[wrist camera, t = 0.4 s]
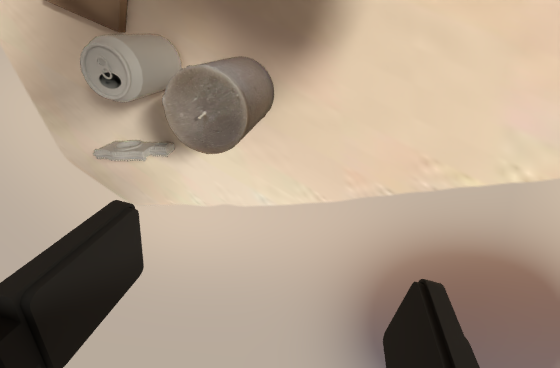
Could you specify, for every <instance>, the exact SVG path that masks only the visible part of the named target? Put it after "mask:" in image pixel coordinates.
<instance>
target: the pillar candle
mask: <svg viewBox="0 0 560 368" xmlns="http://www.w3.org/2000/svg"><path fill="white" fill-rule="evenodd" d="M273 99H274V87H273V83H272V80H271V77H270V75H269V74H268V72H267V71H266V70H265V68H264V67H263V66H262V65H261V64H259V63H258V62H256V61H255V60H253V59H250V58H246V57H234V58H228V59H223V60H218V61H214V62H209V63H204V64H199V65H194V66H187V68H184V69H180V70H179V71H178V72H177V73H176V74H175V75H174V76H172V77H171V79H170V81H169V83H168V85H167V86H166V90H165V94H164V95H163V98H162V103H163V106H164V111H165V115H166V118H167V121H168V123H169V126H170V128H171V129H172V131H173V132H174V134H175V135H176V136H177V138H178V139H179V140H180V141H181V142H183V143H184V144H185V145H187V146H188V147H190V148H192V149H194V150H196V151H199V152H201V153H206V154H217V153H222V152H225V151H228V150H230V149H231V148H233V147H234V146H235V145H236V144H237V143H239V142H240V140H241V139H242V138H244V136H245V135H246V134H247V133H248V132H249V131H250V130H251V129H252V128H253V127H254V126H255V125H256V124H257V123H258V122H259V121H260V120H261V119H262V118H263V117H265V115H266V113H267V112H268V111H269V110H270V109H271V106H272V103H273Z"/></svg>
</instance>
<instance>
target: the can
mask: <svg viewBox="0 0 560 368" xmlns="http://www.w3.org/2000/svg"><path fill="white" fill-rule="evenodd" d="M80 65H81V70H82V73H83V76H84V78H85V80H86V82H87V83H88V84H89V86H90V87H91V88H92V89H93V90H94V91H95V92H96V93H97V94H98V95H100V96H102V97H104V98H106V99H111V100H113V101H117V102H129V101H133V100H136V99H139V98H142V97H145V96H148V95H151V94H154V93H157V92H160V91H163V90H166V86H167V85H168V83H169V81H170V79H171V77H172V76H174V75H175V74H176V73H177V72H178V71H179V70H180V69H182V67H181V60H180V57H179V54H178V52H177V50H176V49H175V47H174V46H173V45H172V44H171V43H170V42H169V41H168V40H167V39H165V38H164V37H162V36H160V35H155V34H134V35H103V36H98V37H95V38H94V39H93V40H92V41H90V42H89V44H88V45H87V46H86V47H84V49H83V51H82V53H81V58H80Z"/></svg>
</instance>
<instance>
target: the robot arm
mask: <svg viewBox="0 0 560 368" xmlns="http://www.w3.org/2000/svg"><path fill="white" fill-rule="evenodd" d="M142 271H143V254H142V244H141V233H140V223H139V213H138V210H136V209H135V206H134V205H133V204H130V203H126V202H122V201H119V200H115V201H112V202H111V203H109V204H108V205H107V206H105V207H104V208H102V209H101V210H100V211H98V212H97V213H96V214H94V215H93V216H92V217H90V218H89V219H87V220H86V221H85V222H83V223H82V224H81V225H79V226H78V227H76V228H75V229H74V230H72V231H71V232H70V233H68V234H67V235H65V236H64V237H63V238H61V239H60V240H59V241H57V242H56V243H54V244H53V245H52V246H50V247H49V248H48V249H46V250H45V251H44V252H42V253H41V254H39V255H38V256H37V257H35V258H34V259H33V260H31V261H30V262H28V263H27V264H26V265H24V266H23V267H22V268H20V269H19V270H17V271H16V272H15V273H13V274H12V275H11V276H9V277H8V278H6V279H5V280H4V281H3V282H1V283H0V368H63V367H64V366H65V365H66V364H67V363H68V362H69V360H70V359H71V358H72V357H73V356H74V354H75V353H76V352H77V351H78V350H79V348H80V347H81V346H82V345H83V343H84V342H85V341H86V340H87V339H88V337H89V336H90V335H91V334H92V333H93V331H94V330H95V329H96V328H97V327H98V325H99V324H100V323H101V322H102V321H103V319H104V318H105V317H106V316H107V315H108V313H109V312H110V311H111V310H112V309H113V307H114V306H115V305H116V304H117V303H118V301H119V300H120V299H121V298H122V297H123V296H124V294H125V293H126V292H127V291H128V289H129V288H130V287H131V286H132V285H133V284H134V282H135V281H136V280H137V279H138V278H139V276H140V274H141V273H142ZM383 346H384V354H385V361H386V368H480V367H479V365H478V363H477V360H476V358H475V356H474V353H473V351H472V348H471V346H470V344H469V342H468V340H467V339H466V338H465V337H464V334H463V332H462V329H461V327H460V324H459V322H458V320H457V317H456V315H455V312H454V310H453V307H452V305H451V302H450V300H449V298H448V295H447V293H446V290H445V288H444V286H443V285H442V284H441V283H436V282H433V281H428V280H425V279H421V280H420V281H419V282H414V283H413V284H412V286H411V287H410V289H409V291H408V292H407V294H406V296H405V298H404V300H403V301H402V303H401V305H400V306H399V308H398V310H397V312H396V314H395V315H394V317H393V319H392V321H391V322H390V324H389V326H388V328H387V330H386V331H385V334H384V338H383Z"/></svg>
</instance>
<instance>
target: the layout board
mask: <svg viewBox="0 0 560 368" xmlns="http://www.w3.org/2000/svg"><path fill="white" fill-rule="evenodd" d="M46 1H48V2H50V3H52V4H55V5H57V6H59V7H62V8H64V9H66V10H69V11H71V12H73V13H75V14H78V15H80V16H82V17H85V18H87V19H89V20H92V21H94V22H96V23H98V24H101V25H103V26H105V27H108V28H110V29H112V30H115V31H117V32H125V30H126V15H127V1H128V0H46Z"/></svg>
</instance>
